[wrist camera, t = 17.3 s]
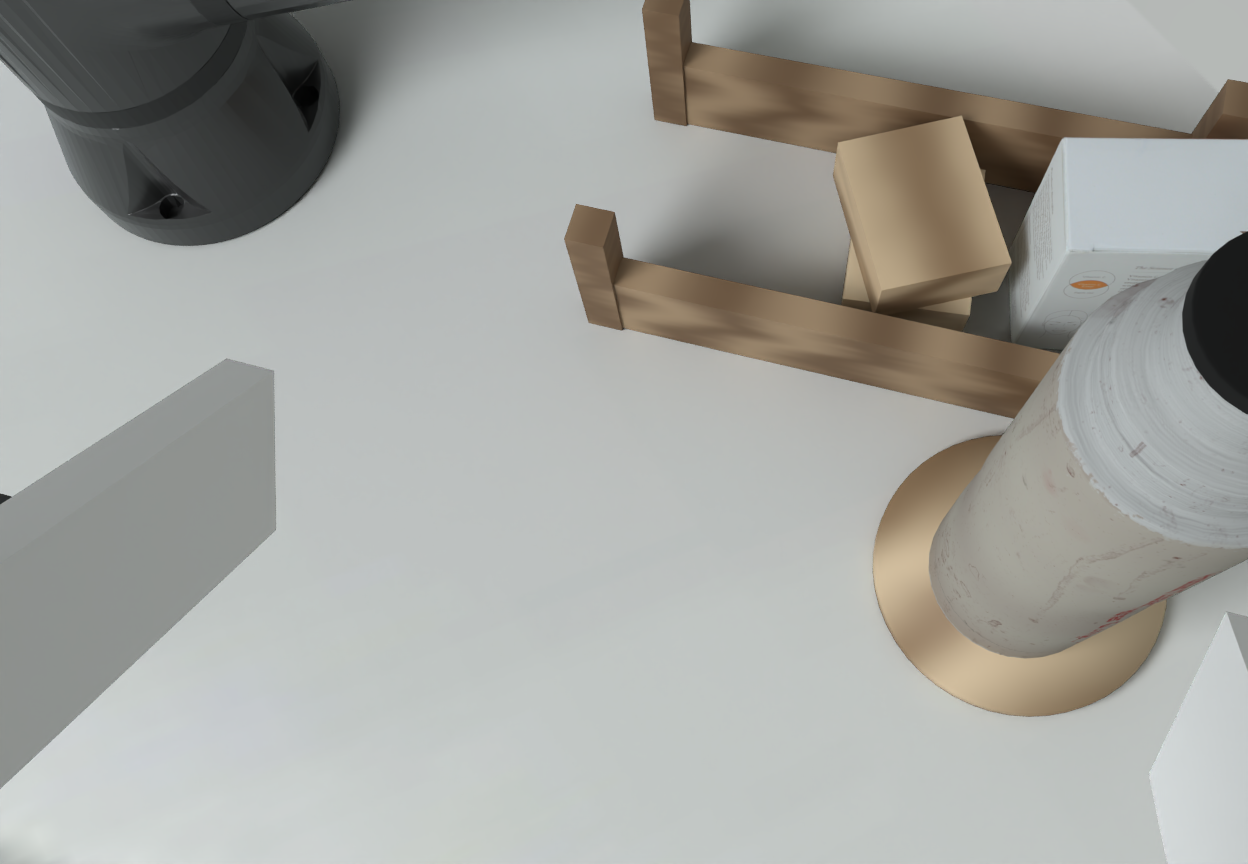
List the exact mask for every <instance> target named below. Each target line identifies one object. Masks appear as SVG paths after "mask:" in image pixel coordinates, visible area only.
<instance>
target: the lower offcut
mask: <svg viewBox="0 0 1248 864" xmlns="http://www.w3.org/2000/svg"><path fill="white" fill-rule="evenodd" d="M980 171H981V173H982V176H983V179H984V180H985V171H986V170H982V169H980ZM971 300H972V297H968V298H963V299H959V300H954V301H949V302H945V303H940V304H935V305H931V306H926V307H921V308H917V309H912V310H907V311H903V312H898V313H893V314H889V315H887V316H891V317H896V318H900V319H905V320H909V321H914V322H919V323H923V324H928V325H932V326H937V327H941V328H946V329H950V330H955V331H959V332H962V331H963V329H964V327H965V325H966V322H967V320H968V318H969V316H970V309H971ZM841 306H846V307H850V308H855V309H860V310H864V311H869V312H872V309H871V305H870V302H869V298H868V295H867V291H866V288H865V285H864V281H863V278H862V274H861V271H860V267H859V264H858V260H857V257H856V253H855V250H854V247H853V243H852V240H851V239H850V246H849V253H848V260H847V267H846V273H845V280H844V287H843V294H842V301H841Z"/></svg>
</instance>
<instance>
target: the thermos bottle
mask: <svg viewBox="0 0 1248 864" xmlns="http://www.w3.org/2000/svg"><path fill="white" fill-rule="evenodd" d="M1247 559H1248V231H1247V232H1245V233H1243V234H1241V235H1239V236H1237V237H1235V238H1233V239H1231V240H1229V241H1228V242H1227V243H1226V244H1224V245H1223V246H1222V247H1221V248H1219V249H1218V250H1217V251H1216V252H1214V253H1213V255H1212V256H1211V257H1210V258H1209V259H1208V260H1204V261H1200V262H1197V263H1193V264H1190V265H1186V266H1183V267H1180V268H1178V269H1176V270H1174V271H1172V272H1170V273H1168V274H1166V275H1164V276H1162V277H1158V278H1155V279H1151V280H1148V281H1144V282H1141V283H1137V284H1135V285H1133V286H1132V287H1130V288H1128V289H1126V290H1124V291H1122V292H1120V293H1118V294H1116V295H1114V296H1112V297H1111V298H1110V299H1108V300H1107V301H1106V302H1105V303H1103V304H1102V305H1101V306H1100V307H1098V308H1097V309H1096V310H1095V311H1093V312H1092V313H1091V314H1090V316H1089V317H1088V318H1087V319H1086V321H1085V322H1084V323H1083V324H1082V325H1081V327H1080V328H1079V329H1078V330H1077V332H1076V333H1075V334H1074V336H1073V337H1072V338H1071V340H1070V341H1069V343H1068V344H1067V345H1066V347H1065V348H1064V350H1063V351H1062V352H1061V354H1060V355H1059V357H1058V358H1057V359H1056V361H1055V362H1054V364H1053V365H1052V366H1051V368H1050V369H1049V371H1048V372H1047V374H1046V375H1045V376H1044V378H1043V379H1042V381H1041V382H1040V383H1039V385H1038V386H1037V388H1036V389H1035V390H1034V392H1033V393H1032V395H1031V396H1030V397H1029V399H1028V400H1027V402H1026V403H1025V404H1024V406H1023V407H1022V409H1021V410H1020V412H1019V413H1018V414H1017V416H1016V417H1015V419H1014V420H1013V421H1012V423H1011V424H1010V426H1009V427H1008V428H1007V430H1006V431H1005V433H1004V434H1003V435H1002V437H1001V438H1000V440H999V441H998V442H997V444H996V445H995V447H994V448H993V450H992V451H991V452H990V454H989V455H988V457H987V459H986V461H985V463H984V464H983V466H982V468H981V470H980V471H979V472H978V473H977V474H976V475H975V477H974V478H973V479H972V480H971V482H970V483H969V484H968V485H967V487H966V488H965V489H964V490H963V492H962V493H961V495H960V496H959V497H958V499H957V500H956V502H955V503H954V504H953V506H952V507H951V509H950V510H949V511H948V513H947V514H946V516H945V517H944V518H943V520H942V521H941V523H940V525H939V527H938V529H937V531H936V533H935V535H934V537H933V540H932V544H931V548H930V552H929V576H930V582H931V587H932V590H933V592H934V595H935V598H936V601H937V603H938V605H939V606H940V608H941V610H942V611H943V613H944V615H945V616H946V618H947V619H948V620H949V621H950V622H951V623H952V625H953V626H954V627H955V628H956V629H957V630H958V631H959V632H960V633H961V634H963V635H964V636H965V637H966V638H968V639H969V640H970V641H972V642H973V643H975V644H977V645H979V646H980V647H982V648H984V649H986V650H988V651H991V652H994V653H997V654H1000V655H1004V656H1007V657H1016V658H1024V659H1025V658H1038V657H1045V656H1048V655H1052V654H1055V653H1059V652H1061V651H1063V650H1065V649H1067V648H1069V647H1071V646H1073V645H1075V644H1078V643H1080V642H1082V641H1084V640H1086V639H1088V638H1090V637H1092V636H1094V635H1096V634H1098V633H1100V632H1102V631H1104V630H1106V629H1108V628H1110V627H1112V626H1114V625H1116V624H1118V623H1120V622H1122V621H1123V620H1125V619H1127V618H1129V617H1131V616H1133V615H1135V614H1137V613H1139V612H1141V611H1142V610H1144V609H1146V608H1148V607H1150V606H1151V605H1153V604H1155V603H1158V602H1161V601H1164V600H1166V599H1168V598H1170V597H1172V596H1174V595H1176V594H1178V593H1180V592H1182V591H1184V590H1187V589H1189V588H1191V587H1193V586H1195V585H1197V584H1199V583H1201V582H1203V581H1205V580H1207V579H1209V578H1211V577H1213V576H1215V575H1217V574H1219V573H1221V572H1223V571H1225V570H1227V569H1229V568H1231V567H1233V566H1235V565H1237V564H1239V563H1241V562H1243V561H1245V560H1247Z"/></svg>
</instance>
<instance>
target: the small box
mask: <svg viewBox="0 0 1248 864" xmlns="http://www.w3.org/2000/svg"><path fill="white" fill-rule="evenodd" d="M1247 231H1248V139H1177V138H1090V137H1064V138H1063V139H1062V140H1061V142H1060V144H1059V146H1058V148H1057V150H1056V152H1055V154H1054V156H1053V158H1052V160H1051V163H1050V165H1049V167H1048V169H1047V171H1046V173H1045V176H1044V178H1043V180H1042V182H1041V184H1040V186H1039V188H1038V190H1037V192H1036V194H1035V196H1034V198H1033V200H1032V203H1031V205H1030V207H1029V209H1028V211H1027V213H1026V216H1025V218H1024V220H1023V222H1022V224H1021V226H1020V228H1019V230H1018V232H1017V235H1016V237H1015V239H1014V241H1013V243H1012V245H1011V248H1010V250H1009V256H1010V259H1011V262H1012V264H1011V265H1010V267H1009V291H1010V328H1011V343H1014V344H1018V345H1023V346H1027V347H1032V348H1036V349H1060V350H1064V348H1065V347H1066V345H1067V344H1068V343H1069V341H1070V340H1071V338H1072V337H1073V336H1074V334H1075V333H1076V332H1077V330H1078V329H1079V328H1080V327H1081V325H1082V324H1083V323H1084V322H1085V321H1086V319H1087V318H1088V317H1089V316H1090V314H1091V313H1092V312H1093V311H1095V310H1096V309H1097V308H1098V307H1100V306H1101V305H1102V304H1103V303H1105V302H1106V301H1107V300H1108V299H1110V298H1111V297H1112V296H1114V295H1116V294H1118V293H1120V292H1122V291H1124V290H1126V289H1128V288H1130V287H1132V286H1133V285H1135V284H1137V283H1141V282H1144V281H1148V280H1151V279H1155V278H1158V277H1162V276H1164V275H1166V274H1168V273H1170V272H1172V271H1174V270H1176V269H1178V268H1180V267H1183V266H1186V265H1190V264H1193V263H1197V262H1200V261H1204V260H1208V259H1209V258H1210V257H1211V256H1212V255H1213V253H1214V252H1216V251H1217V250H1218V249H1219V248H1221V247H1222V246H1223V245H1224V244H1226V243H1227V242H1228V241H1229V240H1231V239H1233V238H1235V237H1237V236H1239V235H1241V234H1243V233H1245V232H1247Z"/></svg>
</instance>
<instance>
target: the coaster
mask: <svg viewBox="0 0 1248 864" xmlns="http://www.w3.org/2000/svg"><path fill="white" fill-rule="evenodd" d="M1001 437H1002V435H1000V436H987V437H982V438H977V439H972V440H968V441H965V442H962V443H959V444H956V445H953V446H951V447H949V448H947V449H945V450H943V451H941V452H939V453H937V454H936V455H934V456H933V457H931V458H929V459H928V460H926V461H925V462H923V463H922V464H921V465H920V466H919V467H918V468H917V469H915V470H914V471H913V472H912V473H911V474H910V475H909V476H908V477H907V478H906V480H905V481H904V482H903V483H902V484H901V485H900V486H899V488H898V489H897V491H896V492H895V494H894V496H893V497H892V499H891V500H890V502H889V504H888V506H887V508H886V510H885V512H884V515H883V517H882V519H881V522H880V525H879V528H878V531H877V535H876V539H875V546H874V552H873V577H874V586H875V592H876V596H877V600H878V604H879V608H880V610H881V613H882V615H883V618H884V620H885V623H886V625H887V627H888V629H889V631H890V633H891V634H892V636H893V638H894V640H895V642H896V643H897V644H898V646H899V647H900V649H901V650H902V651H903V653H904V654H905V656H906V657H907V658H908V659H909V660H910V661H911V662H912V663H913V665H914V666H915V667H916V668H917V669H918V670H919V671H920V672H921V673H922V674H923V675H925V676H926V677H927V678H928V679H929V680H931V681H932V682H933V683H934V684H935V685H937V686H938V687H940V688H941V689H943V690H944V691H946V692H948V693H949V694H951V695H952V696H954V697H956V698H958V699H960V700H962V701H964V702H966V703H968V704H971V705H973V706H976V707H979V708H982V709H985V710H988V711H992V712H997V713H1001V714H1006V715H1014V716H1027V717H1031V716H1049V715H1054V714H1059V713H1065V712H1069V711H1072V710H1075V709H1078V708H1081V707H1084V706H1087V705H1090V704H1092V703H1094V702H1096V701H1098V700H1100V699H1102V698H1104V697H1106V696H1107V695H1109V694H1110V693H1112V692H1113V691H1114V690H1116V689H1117V688H1119V687H1120V686H1122V685H1123V684H1124V683H1125V682H1126V681H1127V680H1128V679H1129V678H1130V677H1131V676H1132V675H1133V674H1134V673H1135V672H1136V671H1137V670H1138V668H1139V667H1140V666H1141V665H1142V663H1143V662H1144V661H1145V660H1146V658H1147V656H1148V655H1149V653H1150V651H1151V649H1152V648H1153V646H1154V644H1155V642H1156V640H1157V637H1158V635H1159V632H1160V629H1161V627H1162V623H1163V619H1164V614H1165V610H1166V602H1167V599H1166V600H1164V601H1161V602H1158V603H1155V604H1153V605H1151V606H1150V607H1148V608H1146V609H1144V610H1142V611H1141V612H1139V613H1137V614H1135V615H1133V616H1131V617H1129V618H1127V619H1125V620H1123V621H1122V622H1120V623H1118V624H1116V625H1114V626H1112V627H1110V628H1108V629H1106V630H1104V631H1102V632H1100V633H1098V634H1096V635H1094V636H1092V637H1090V638H1088V639H1086V640H1084V641H1082V642H1080V643H1078V644H1075V645H1073V646H1071V647H1069V648H1067V649H1065V650H1063V651H1061V652H1059V653H1055V654H1052V655H1048V656H1045V657H1038V658H1025V659H1024V658H1016V657H1007V656H1004V655H1000V654H997V653H994V652H991V651H988V650H986V649H984V648H982V647H980V646H979V645H977V644H975V643H973V642H972V641H970V640H969V639H968V638H966V637H965V636H964V635H963V634H961V633H960V632H959V631H958V630H957V629H956V628H955V627H954V626H953V625H952V623H951V622H950V621H949V620H948V619H947V618H946V616H945V615H944V613H943V611H942V610H941V608H940V606H939V605H938V603H937V601H936V598H935V595H934V592H933V590H932V587H931V582H930V576H929V552H930V548H931V544H932V540H933V537H934V535H935V533H936V531H937V529H938V527H939V525H940V523H941V521H942V520H943V518H944V517H945V516H946V514H947V513H948V511H949V510H950V509H951V507H952V506H953V504H954V503H955V502H956V500H957V499H958V497H959V496H960V495H961V493H962V492H963V490H964V489H965V488H966V487H967V485H968V484H969V483H970V482H971V480H972V479H973V478H974V477H975V475H976V474H977V473H978V472H979V471H980V470H981V468H982V466H983V464H984V463H985V461H986V459H987V457H988V455H989V454H990V452H991V451H992V450H993V448H994V447H995V445H996V444H997V442H998V441H999V440H1000V438H1001Z"/></svg>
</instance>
